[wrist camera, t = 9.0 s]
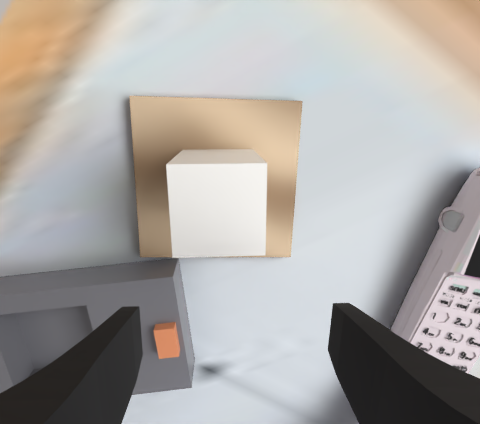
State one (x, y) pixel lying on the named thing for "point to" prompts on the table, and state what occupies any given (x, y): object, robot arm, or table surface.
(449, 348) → the mobile phone
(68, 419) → the robot arm
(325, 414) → the table surface
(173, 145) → the cork coaster
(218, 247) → the white rectangular block
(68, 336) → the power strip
